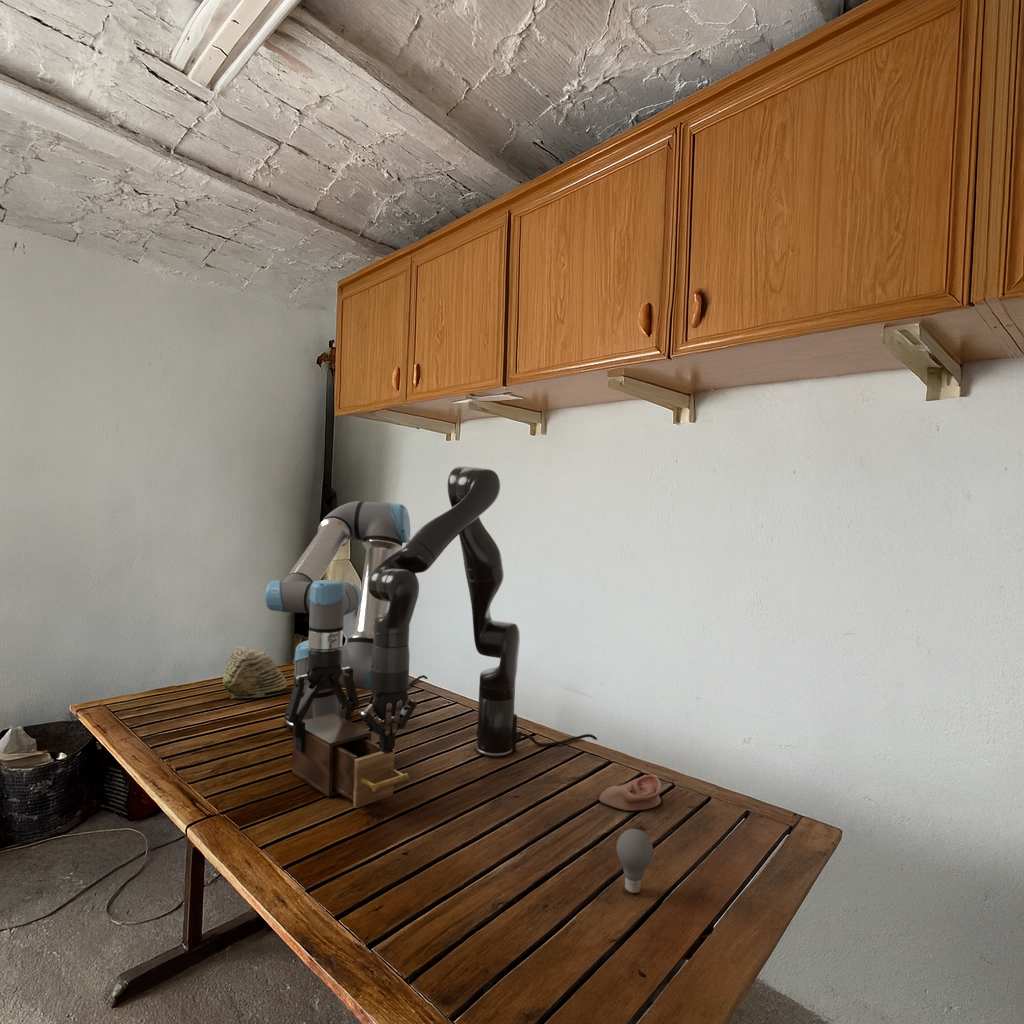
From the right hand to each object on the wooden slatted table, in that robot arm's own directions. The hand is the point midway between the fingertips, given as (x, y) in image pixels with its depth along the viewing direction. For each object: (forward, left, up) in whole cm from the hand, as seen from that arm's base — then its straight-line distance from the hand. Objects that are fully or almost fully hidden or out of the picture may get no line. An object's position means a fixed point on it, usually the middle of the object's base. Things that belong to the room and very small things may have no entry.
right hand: (386, 751), depth 127 cm
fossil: (+16, -88, -13) cm, 90 cm away
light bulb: (-30, +41, -13) cm, 52 cm away
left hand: (+8, -24, -6) cm, 26 cm away
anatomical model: (-51, +15, -13) cm, 54 cm away
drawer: (+2, -8, -11) cm, 14 cm away
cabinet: (+6, -20, -13) cm, 25 cm away
